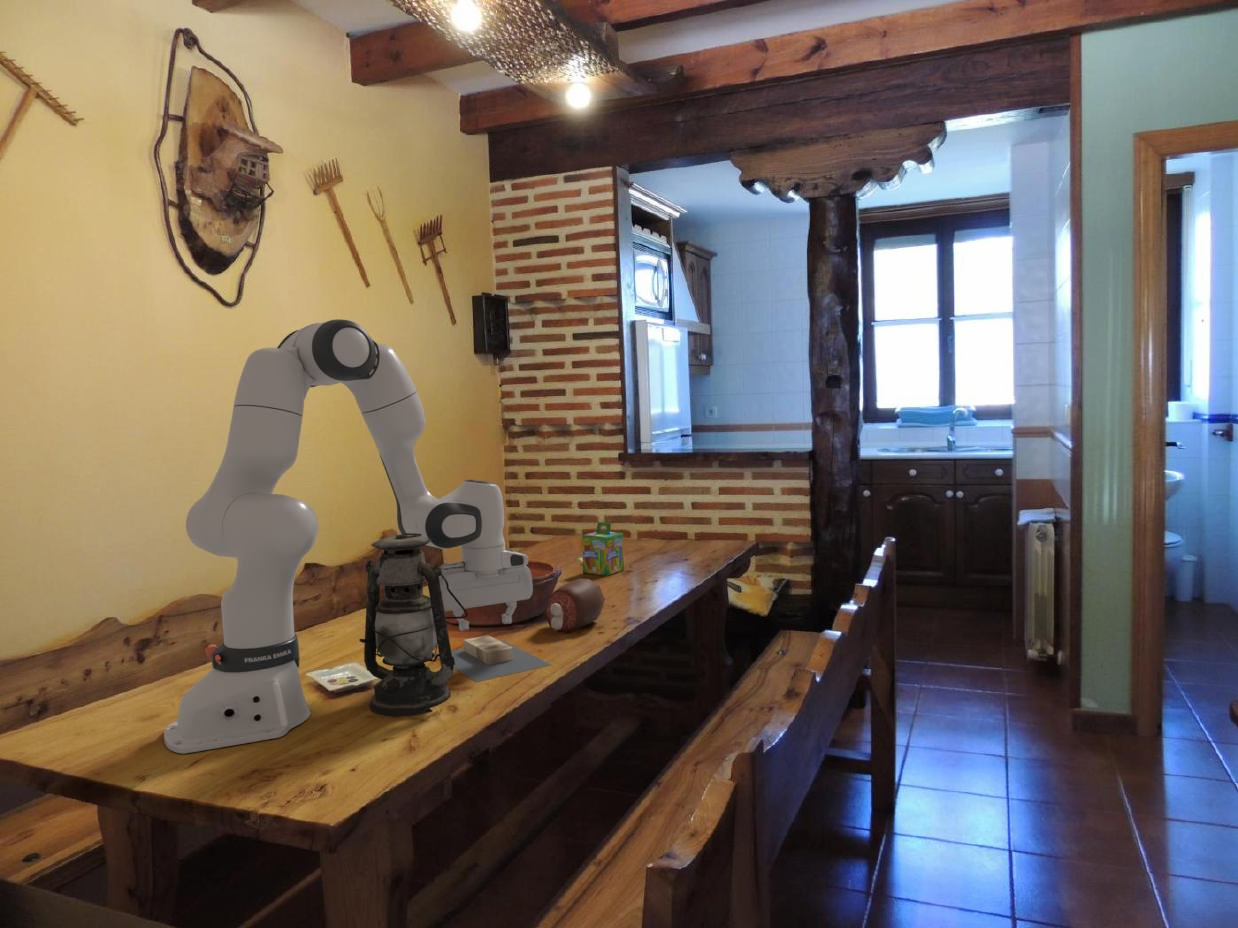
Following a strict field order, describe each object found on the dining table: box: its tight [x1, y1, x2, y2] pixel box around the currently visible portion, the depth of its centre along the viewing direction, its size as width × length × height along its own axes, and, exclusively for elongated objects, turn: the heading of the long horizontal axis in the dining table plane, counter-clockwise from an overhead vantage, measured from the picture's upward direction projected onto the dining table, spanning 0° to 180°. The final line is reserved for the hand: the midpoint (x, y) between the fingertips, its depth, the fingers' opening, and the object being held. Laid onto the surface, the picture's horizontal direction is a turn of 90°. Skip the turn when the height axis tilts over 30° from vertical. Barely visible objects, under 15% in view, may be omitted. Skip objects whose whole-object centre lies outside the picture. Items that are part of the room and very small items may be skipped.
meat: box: [543, 578, 606, 634], centre depth 202 cm, size 20×12×10 cm, turn 156°
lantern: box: [358, 533, 469, 718], centre depth 157 cm, size 19×19×30 cm
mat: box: [435, 639, 552, 683], centre depth 177 cm, size 16×22×1 cm
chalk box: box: [581, 521, 625, 577], centre depth 261 cm, size 9×9×15 cm
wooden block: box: [463, 634, 513, 665], centre depth 180 cm, size 6×2×12 cm
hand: (485, 626), depth 179 cm, fingers open, 8 cm apart
